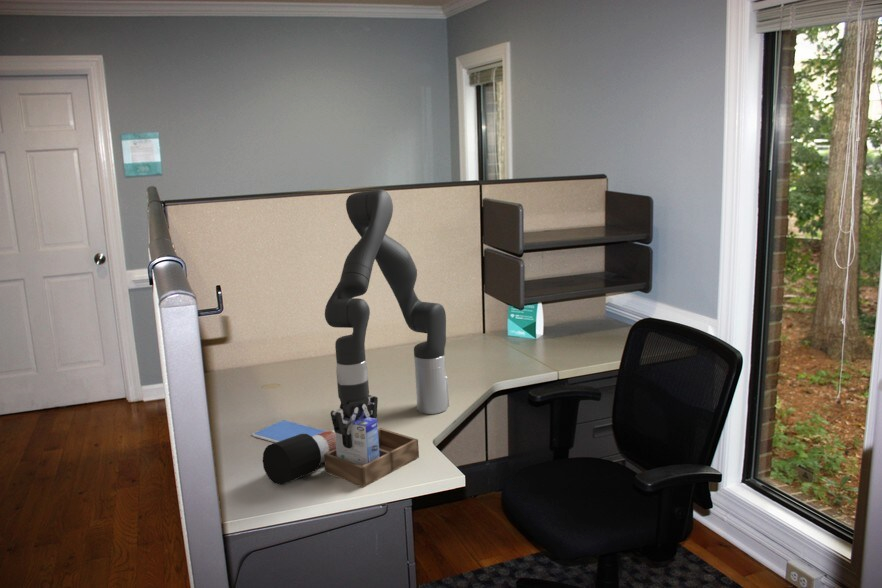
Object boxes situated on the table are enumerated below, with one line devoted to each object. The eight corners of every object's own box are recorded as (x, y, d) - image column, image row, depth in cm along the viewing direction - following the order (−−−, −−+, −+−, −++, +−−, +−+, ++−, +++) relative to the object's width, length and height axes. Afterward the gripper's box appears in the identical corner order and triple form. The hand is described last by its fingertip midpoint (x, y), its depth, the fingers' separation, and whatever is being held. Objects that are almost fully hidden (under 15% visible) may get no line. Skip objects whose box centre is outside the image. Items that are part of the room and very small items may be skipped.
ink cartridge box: (381, 463, 182) (377, 409, 179) (369, 473, 177) (365, 417, 174) (349, 457, 187) (345, 403, 183) (336, 466, 182) (331, 411, 179)
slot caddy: (381, 445, 197) (380, 427, 196) (419, 457, 189) (418, 439, 188) (325, 472, 183) (324, 454, 182) (363, 487, 174) (362, 468, 173)
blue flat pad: (251, 437, 208) (250, 433, 208) (284, 422, 218) (283, 418, 218) (298, 451, 197) (297, 447, 197) (330, 435, 207) (330, 431, 207)
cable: (374, 455, 202) (387, 427, 198) (283, 493, 175) (296, 461, 171) (350, 432, 207) (362, 405, 203) (257, 466, 179) (270, 435, 176)
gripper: (363, 367, 185) (367, 429, 188) (319, 384, 174) (325, 449, 178) (384, 373, 180) (388, 436, 184) (340, 390, 169) (346, 457, 173)
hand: (357, 442), depth 181 cm, fingers closed on ink cartridge box, 5 cm apart
